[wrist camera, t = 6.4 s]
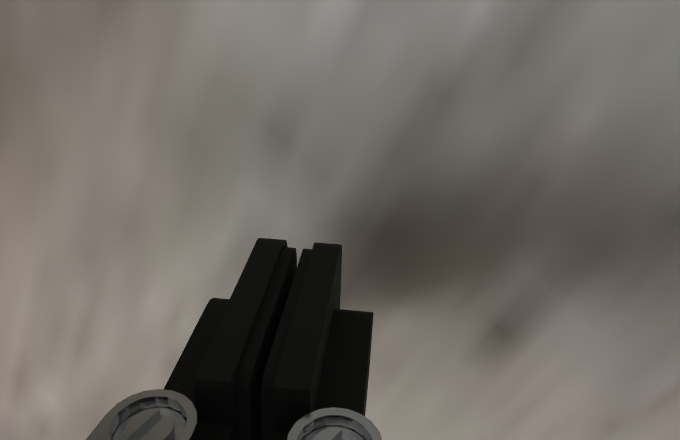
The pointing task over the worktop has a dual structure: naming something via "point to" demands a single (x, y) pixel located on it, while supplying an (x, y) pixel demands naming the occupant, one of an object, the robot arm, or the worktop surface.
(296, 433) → the robot arm
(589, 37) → the worktop surface
